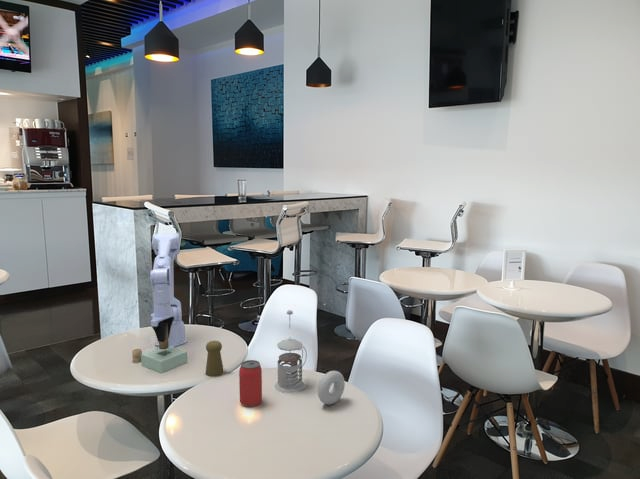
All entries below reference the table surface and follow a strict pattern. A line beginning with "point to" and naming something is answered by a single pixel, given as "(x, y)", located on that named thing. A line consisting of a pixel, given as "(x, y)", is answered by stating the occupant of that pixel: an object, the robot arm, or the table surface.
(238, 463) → the table surface
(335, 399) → the donut
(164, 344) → the long pin
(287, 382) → the french press
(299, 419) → the table surface
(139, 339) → the table surface
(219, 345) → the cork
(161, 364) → the collar block
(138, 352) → the short pin
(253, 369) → the beer can
